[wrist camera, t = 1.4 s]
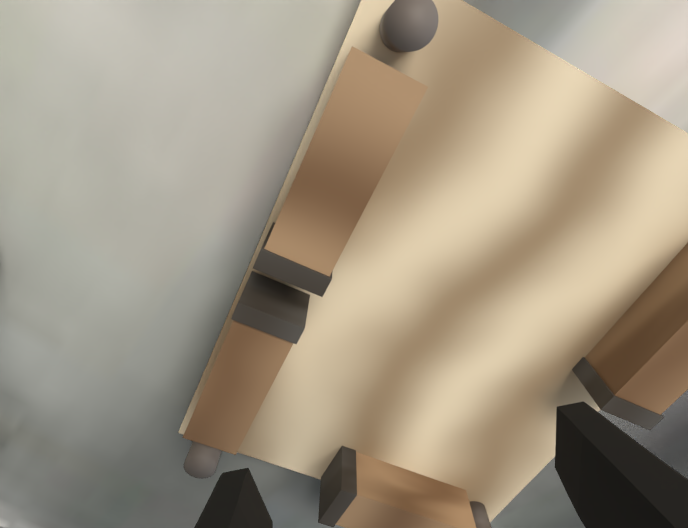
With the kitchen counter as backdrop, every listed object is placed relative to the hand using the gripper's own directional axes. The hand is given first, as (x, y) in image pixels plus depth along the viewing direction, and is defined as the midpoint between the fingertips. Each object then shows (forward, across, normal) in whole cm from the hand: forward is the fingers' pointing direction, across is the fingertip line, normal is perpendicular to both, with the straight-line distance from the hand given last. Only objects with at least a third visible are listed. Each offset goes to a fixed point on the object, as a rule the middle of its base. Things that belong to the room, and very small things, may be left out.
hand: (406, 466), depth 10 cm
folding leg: (+9, 0, -5) cm, 10 cm away
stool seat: (+10, -3, +3) cm, 11 cm away
